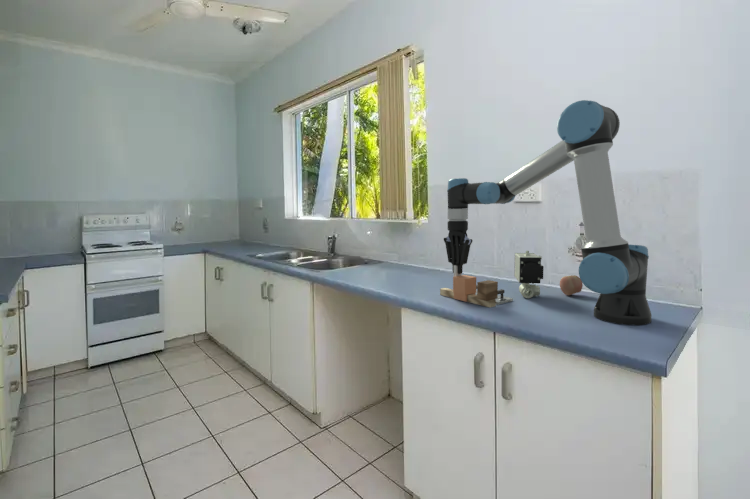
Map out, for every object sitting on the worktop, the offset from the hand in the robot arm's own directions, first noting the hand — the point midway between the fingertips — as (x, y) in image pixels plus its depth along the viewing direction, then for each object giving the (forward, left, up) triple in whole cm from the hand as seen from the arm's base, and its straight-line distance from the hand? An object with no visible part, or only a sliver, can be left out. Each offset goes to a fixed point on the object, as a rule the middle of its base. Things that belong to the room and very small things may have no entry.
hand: (457, 281), depth 152 cm
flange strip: (-5, -8, -6) cm, 11 cm away
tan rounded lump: (-24, -37, -7) cm, 45 cm away
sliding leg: (-4, -3, -6) cm, 8 cm away
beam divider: (-5, -3, -6) cm, 8 cm away
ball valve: (-15, -23, -7) cm, 28 cm away
